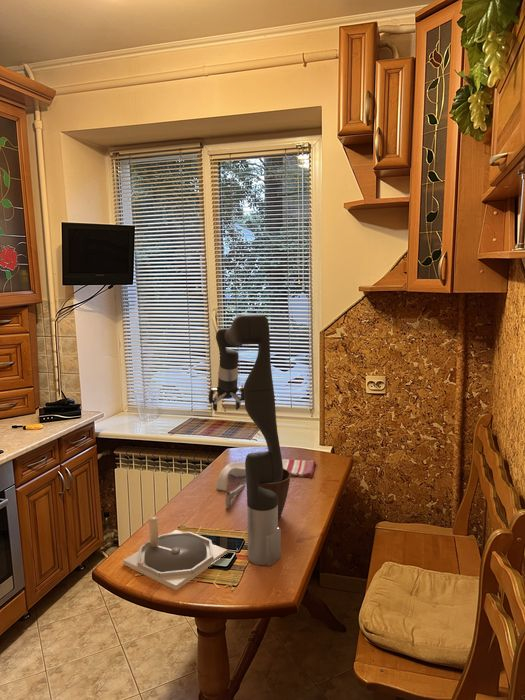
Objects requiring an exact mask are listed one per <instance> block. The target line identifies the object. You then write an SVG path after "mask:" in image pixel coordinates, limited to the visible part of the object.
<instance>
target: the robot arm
mask: <svg viewBox="0 0 525 700" xmlns="http://www.w3.org/2000/svg"><path fill="white" fill-rule="evenodd" d="M270 337H271V335H270V324H269V320H268V318H267V315H265V314H241V315H238V316H236V317H234V319H233V320H232V322H231V325H230V327H226V328H223V327H222V328H220V329H218V330H217V331H216V334H215V341H216V342H217V347H218V351H219V365H218V366H219V367H218V372H217V375H218V379H217V387H216V388H214V387H212V386H210V387H209V390H208V402H209V404H212V409H213V411H215V412H217V411H218V403H219V402H220V401H221V400H222V399H232V398H233V399H234V400H235V406H234V407H235V410H236V411H238V410H239V409H240V406H241V402H244V409H245V412H246V413H247V414H248V416H249V417H250V419H251V421H253V423H254V424H255V426H256V427H257V428H258V429H259V431H260V433H261V434H262V436H263V438H264V440H265V442H266V445H267V451H259V452H252V453H251V452H250V453H248V454H247V455H246V457H245V461H244V463H245V471H246V476H245V482H246V485H245V486H246V508H247V509H246V510H247V511H246V513H247V518H246V519H247V520H246V523H247V529H246V530H247V560H249V562H251V563H252V564H254V565H258V566H268V567H270V566H272V565H273V564H274V563H275V562H276V561H278V560H279V559H280V558H281V557H282V551H281V550H282V537H281V535H282V532H281V529H282V528H280V527H279V520H278V497H277V495H276V493H275V492H273V491H271V490H268V489H264V488H261V487H259V484H266V483H275V482H279V481H281V480H282V477H283V463H282V459H283V457H282V452H281V451H282V450H281V445H280V439H279V432H278V425H277V414H276V398H275V389H274V381H273V374H272V364H271V363H272V362H271V341H270V339H271V338H270ZM243 345H244V346H247V345H257V346H258V347H257V348H258V349H257V350H258V351H257V355H256V360H255V362H254V364H253V367H252V369H251V371H250V372H249V374H248V375H247V378H246V380H245V382H244V384H241V386H238V379H239V352H238V351H237V350H235V349H234V348H238V347H242V346H243ZM238 391H239V392H240V396H239V395H238V394H237V393H238ZM215 393H216V394H215ZM214 395H215V396H214Z"/></svg>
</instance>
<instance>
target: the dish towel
mask: <svg viewBox="0 0 525 700" xmlns="http://www.w3.org/2000/svg"><path fill="white" fill-rule="evenodd" d="M282 463H283V469H286V470H287V471H289V472H290V477H295V476H299V478H309V477H311V478H312V477H313V474H314V471H315V470H314V469H315V466H316V461H315V460H314V459H311V460H303V459H302V460H299V459H287V458H286V459H285V458H282ZM314 465H315V466H314ZM301 476H302V477H301Z"/></svg>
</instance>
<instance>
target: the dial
mask: <svg viewBox="0 0 525 700" xmlns="http://www.w3.org/2000/svg"><path fill="white" fill-rule="evenodd" d="M158 523H159V521H158V516H153V515H152V516H150V517H148V528H149V529H148V531H149V541H150V546H149V547H148V548H147V550H146V551H145V562H146V564H147V565H148V566H149V567H151V568H153V569H155V570H157V571H161V572H167V571H177V570H187V569H191V568H193V567H195V566H196V565H198V564H199V563H201V562H202V561H203V560H204V559H205V557H206V555H207V547H206V545H205V544H204V542H202V541H201V540H199V539H197V538H194V537H190V536H172V537H167V538H163V539H161V540H159V539H158V536H159V524H158Z"/></svg>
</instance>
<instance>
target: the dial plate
mask: <svg viewBox="0 0 525 700" xmlns="http://www.w3.org/2000/svg"><path fill="white" fill-rule="evenodd" d="M172 536H190V537H194V538H197V539H199V540H201V541H202V542H204V544H205V545H206V547H207V555H206V557H205V559H204V560H203V561H202V562H201V563H199V564H198V565H196V566H195V567H193V568H191V569H187V570H177V571H167V572H161V571H157V570H155V569H153V568H151V567H149V566H148V565H147V564H146V562H145V551H146V550H147V548H148V547H149V546H150V540H148V541H146V542H145V543H143V544H142V545H140V547H139V550H137V552H134V553H132V554H131V555H129V556H128V557H126V558H124V559H123V560H122V561H123V563H122V564H123V565H124V566H125V565H126V567H127V566H128V568H129V567H130V569H132V570H134V571H136V572H138V573H140V574H141V575H144V576H146V577H148V578H150V579H152V580H154V581H156V582H158V583H160V584H162V585H165V586H166V587H168V588H170V589H172V590H174V591H178V590H180V589H181V588H182V587H183V586H184V585H186V584H188V583H189V582H190V581H192V580H193V579H195V578H196V577H197V576H199V575H200V574H201V573H203V572H204V571H206V570H207V569H209V568H210V567H209V565H210V564H211V563H212V562H214V561H215V560H217V559H219V558H221V557H223V556H224V555H226V554H227V555H228V549H226V548H224V547H221V546H218V545H216V544H214V543H213V542H212V539H210V538H207V537H205V536H202V535H200V534H197V533H195V532H192V531H181V530H178V529H174V530H173V531H171V532H168V533H163V534H158V539H159V540H161V539H163V538H167V537H172ZM227 555H226V556H227ZM224 557H225V556H224ZM224 557H223V558H224ZM221 559H222V558H221ZM208 567H209V568H208Z"/></svg>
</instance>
